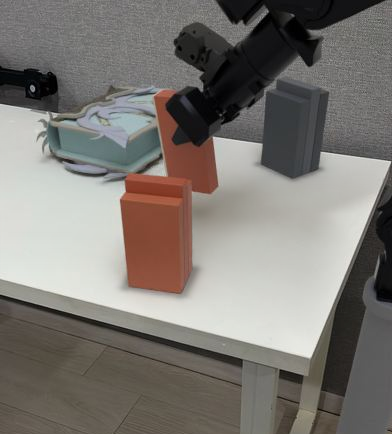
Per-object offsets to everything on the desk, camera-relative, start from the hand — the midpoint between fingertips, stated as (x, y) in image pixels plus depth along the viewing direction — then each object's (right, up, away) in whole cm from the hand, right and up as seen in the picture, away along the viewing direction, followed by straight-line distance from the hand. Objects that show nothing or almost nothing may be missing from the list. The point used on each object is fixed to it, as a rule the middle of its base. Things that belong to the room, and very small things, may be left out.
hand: (179, 138), depth 77 cm
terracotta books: (-2, -20, -4) cm, 20 cm away
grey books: (+19, +4, +23) cm, 30 cm away
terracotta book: (+2, -5, +4) cm, 7 cm away
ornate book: (-11, +9, +30) cm, 33 cm away
